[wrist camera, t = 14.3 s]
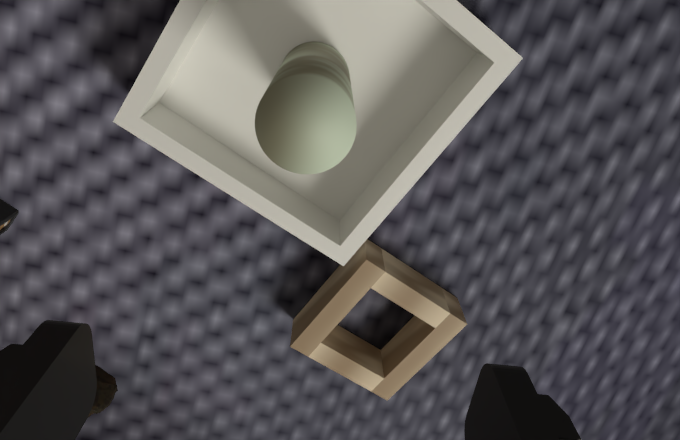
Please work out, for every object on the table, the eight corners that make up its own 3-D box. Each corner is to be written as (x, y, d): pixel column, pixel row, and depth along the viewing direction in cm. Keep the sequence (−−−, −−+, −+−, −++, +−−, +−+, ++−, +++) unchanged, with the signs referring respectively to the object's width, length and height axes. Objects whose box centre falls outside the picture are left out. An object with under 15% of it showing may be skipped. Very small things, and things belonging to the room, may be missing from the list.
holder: (457, 298, 36) (467, 324, 34) (383, 371, 39) (387, 400, 37) (363, 236, 34) (366, 259, 31) (293, 319, 37) (290, 346, 34)
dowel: (353, 46, 28) (363, 81, 19) (345, 116, 30) (349, 179, 21) (281, 37, 28) (257, 68, 19) (277, 108, 30) (252, 169, 21)
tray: (499, 47, 29) (523, 58, 25) (342, 235, 34) (343, 266, 30) (279, -144, 25) (269, -163, 21) (139, 103, 30) (113, 121, 26)
